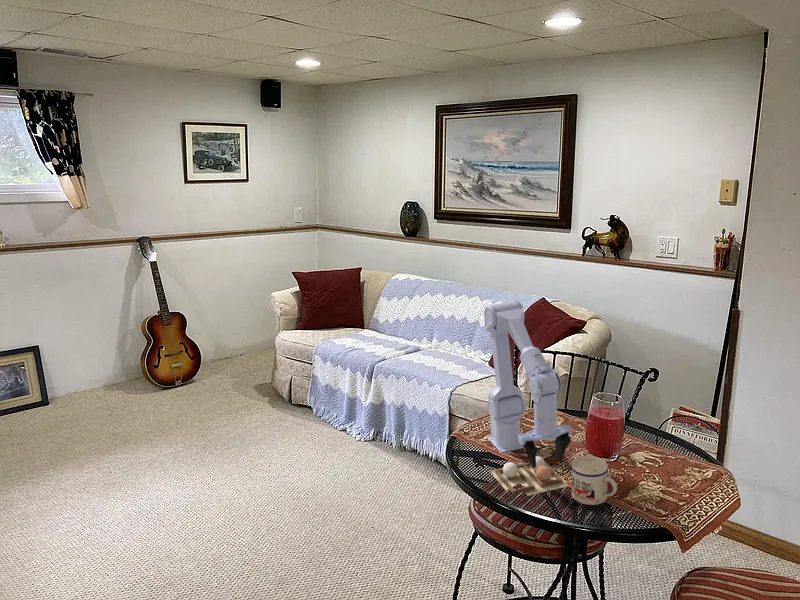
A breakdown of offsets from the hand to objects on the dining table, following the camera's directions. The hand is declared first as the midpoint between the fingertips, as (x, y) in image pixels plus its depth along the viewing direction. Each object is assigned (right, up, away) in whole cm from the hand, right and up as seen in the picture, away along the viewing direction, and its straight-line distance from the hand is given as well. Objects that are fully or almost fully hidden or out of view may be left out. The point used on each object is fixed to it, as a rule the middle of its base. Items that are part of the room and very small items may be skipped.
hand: (545, 463), depth 176 cm
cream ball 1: (-9, -5, +4) cm, 11 cm away
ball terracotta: (0, -5, +1) cm, 5 cm away
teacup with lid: (+10, -7, -8) cm, 15 cm away
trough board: (-4, -5, +3) cm, 7 cm away
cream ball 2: (-1, -3, +6) cm, 7 cm away
